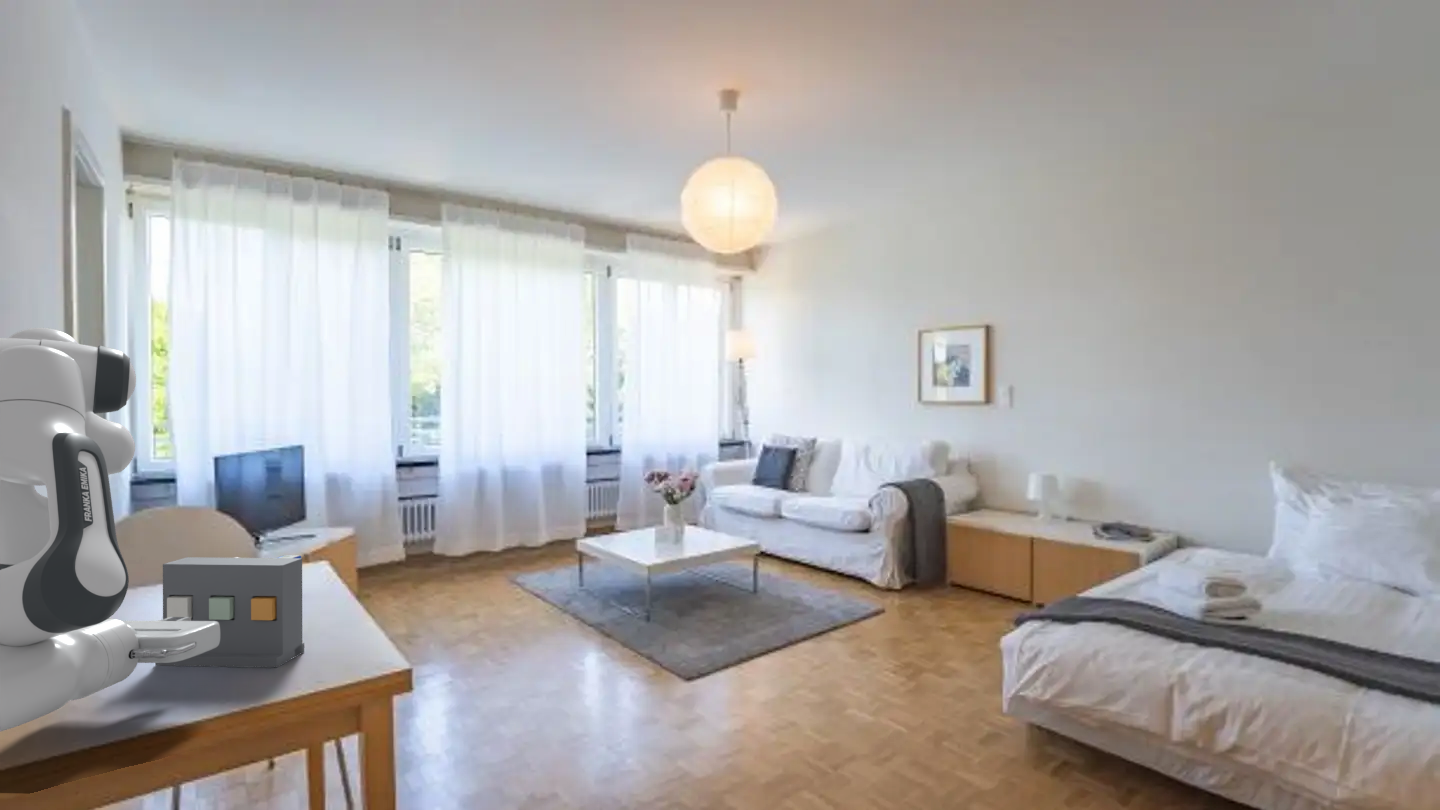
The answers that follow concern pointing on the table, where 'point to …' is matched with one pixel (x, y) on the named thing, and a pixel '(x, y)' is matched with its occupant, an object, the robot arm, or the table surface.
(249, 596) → the button panel
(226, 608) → the button sage
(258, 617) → the button orange
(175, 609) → the button offwhite
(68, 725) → the table surface
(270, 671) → the table surface
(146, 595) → the table surface
